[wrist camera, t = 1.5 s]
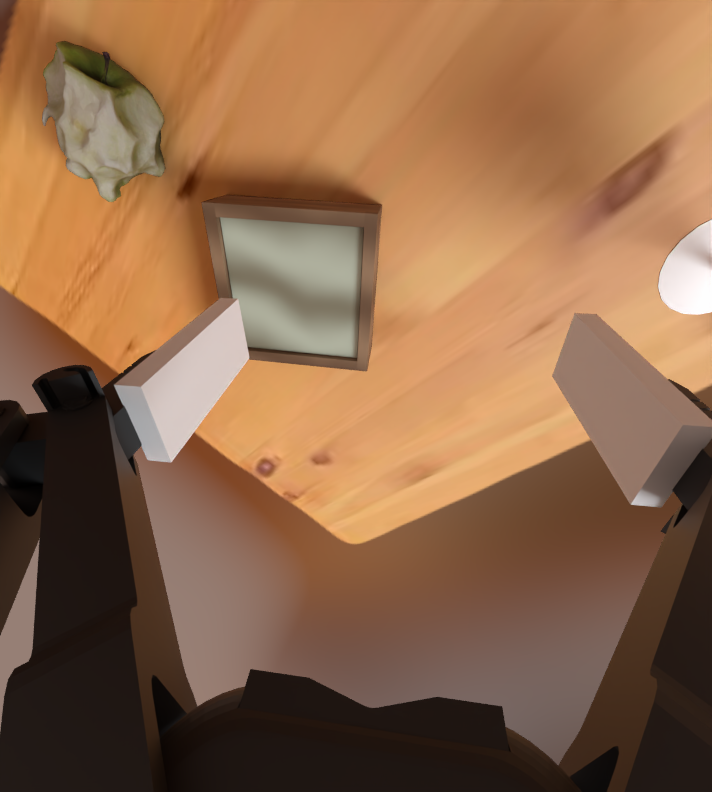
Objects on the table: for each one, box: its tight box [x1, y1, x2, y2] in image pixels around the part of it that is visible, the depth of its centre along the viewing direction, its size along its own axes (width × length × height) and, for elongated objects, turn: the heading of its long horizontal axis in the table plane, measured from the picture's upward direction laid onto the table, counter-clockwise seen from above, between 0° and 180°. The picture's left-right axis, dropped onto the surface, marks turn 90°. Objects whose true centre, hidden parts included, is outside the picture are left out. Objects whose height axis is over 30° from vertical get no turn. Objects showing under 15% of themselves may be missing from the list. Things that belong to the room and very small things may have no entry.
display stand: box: [202, 195, 382, 371], centre depth 34 cm, size 14×14×5 cm
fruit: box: [42, 41, 165, 202], centre depth 28 cm, size 9×9×8 cm
